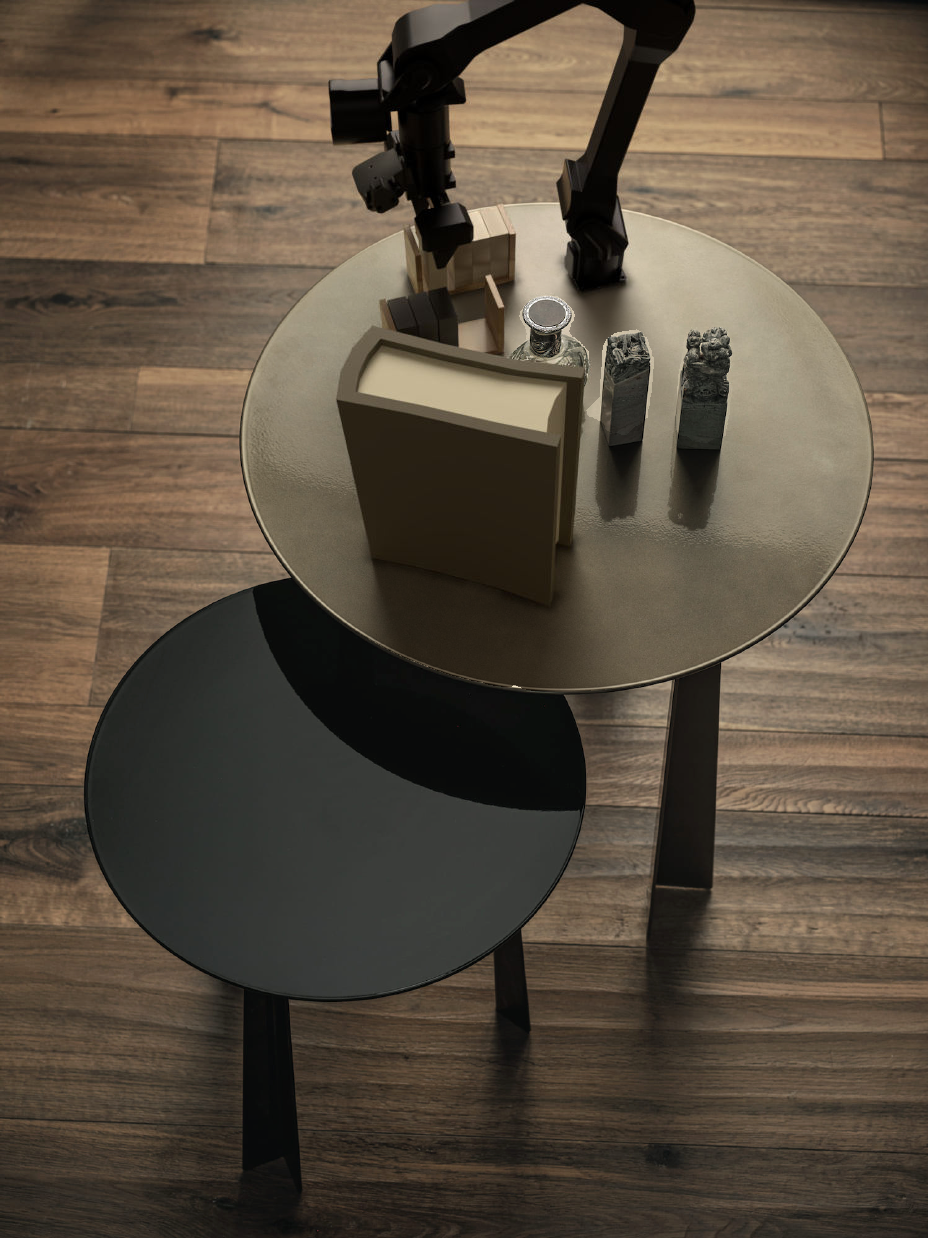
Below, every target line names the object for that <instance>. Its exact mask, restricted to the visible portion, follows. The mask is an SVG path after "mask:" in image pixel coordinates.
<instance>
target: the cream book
mask: <svg viewBox="0 0 928 1238" xmlns="http://www.w3.org/2000/svg"><path fill="white" fill-rule="evenodd" d="M417 240H418V239H417ZM418 248H419V251H420V253H421V261H422V273H423V275H424V278H425V280H426V283H427V286H428V288H429V291H430V290H434V289H438V288H443V287H447V290H448V273H447V266H446V267H445V268H443V269H439V270H438V269H437V268H436V266H435V262H434V259H433V256H432V252H429V253H428V252H426V251H423V250H422V248H421V245H420V243H419V240H418Z"/></svg>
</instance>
